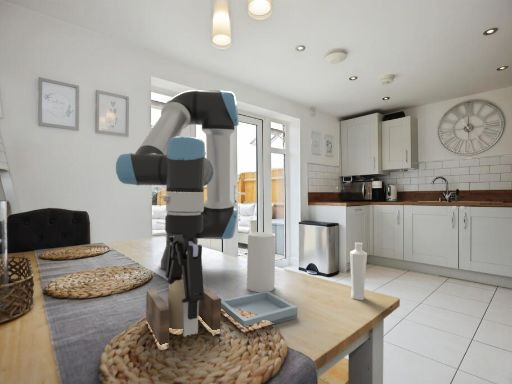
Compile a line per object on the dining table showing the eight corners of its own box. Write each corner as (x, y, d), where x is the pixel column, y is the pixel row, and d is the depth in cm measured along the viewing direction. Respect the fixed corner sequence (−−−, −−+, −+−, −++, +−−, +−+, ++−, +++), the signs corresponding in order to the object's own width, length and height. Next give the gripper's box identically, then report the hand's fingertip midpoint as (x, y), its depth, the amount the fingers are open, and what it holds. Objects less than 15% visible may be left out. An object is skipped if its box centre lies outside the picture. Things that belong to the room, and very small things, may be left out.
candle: (184, 319, 60) (186, 274, 60) (201, 328, 56) (202, 279, 56) (162, 329, 55) (163, 279, 55) (178, 338, 52) (179, 285, 52)
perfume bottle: (355, 301, 72) (356, 244, 73) (346, 295, 77) (347, 241, 77) (370, 299, 74) (371, 244, 74) (360, 294, 78) (361, 241, 78)
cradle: (145, 323, 58) (146, 290, 58) (198, 311, 64) (199, 281, 64) (159, 351, 48) (160, 310, 48) (220, 334, 54) (221, 298, 54)
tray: (218, 311, 64) (218, 300, 64) (266, 299, 72) (267, 290, 72) (243, 333, 54) (244, 321, 54) (297, 317, 62) (297, 306, 62)
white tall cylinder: (272, 293, 77) (273, 236, 77) (243, 290, 79) (245, 235, 79) (275, 284, 85) (277, 232, 85) (250, 282, 87) (251, 231, 87)
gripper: (153, 210, 63) (150, 307, 63) (183, 218, 45) (180, 356, 44) (185, 210, 67) (183, 301, 67) (225, 217, 49) (222, 343, 48)
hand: (181, 323), depth 56 cm, fingers open, 9 cm apart
